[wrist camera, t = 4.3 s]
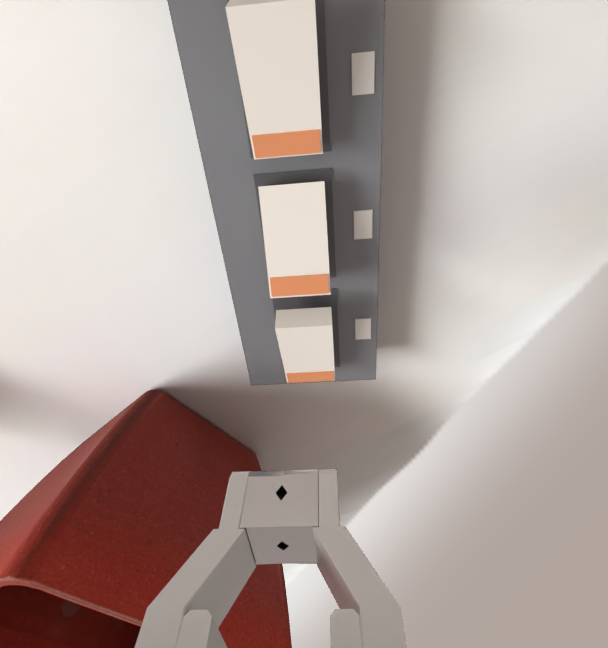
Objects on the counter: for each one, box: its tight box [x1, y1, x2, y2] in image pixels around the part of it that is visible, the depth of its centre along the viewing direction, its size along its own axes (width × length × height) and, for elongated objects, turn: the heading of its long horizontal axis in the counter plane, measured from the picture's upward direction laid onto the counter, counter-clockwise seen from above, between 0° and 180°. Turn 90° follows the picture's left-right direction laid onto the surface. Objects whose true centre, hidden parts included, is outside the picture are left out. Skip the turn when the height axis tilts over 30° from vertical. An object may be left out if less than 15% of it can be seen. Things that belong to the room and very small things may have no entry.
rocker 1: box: [225, 0, 323, 160], centre depth 16 cm, size 6×3×2 cm, turn 4°
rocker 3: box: [275, 307, 335, 383], centre depth 24 cm, size 6×3×2 cm, turn 4°
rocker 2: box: [258, 181, 331, 298], centre depth 20 cm, size 6×3×2 cm, turn 6°
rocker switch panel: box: [167, 0, 385, 385], centre depth 21 cm, size 29×9×4 cm, turn 5°
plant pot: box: [0, 390, 292, 648], centre depth 31 cm, size 19×19×17 cm
